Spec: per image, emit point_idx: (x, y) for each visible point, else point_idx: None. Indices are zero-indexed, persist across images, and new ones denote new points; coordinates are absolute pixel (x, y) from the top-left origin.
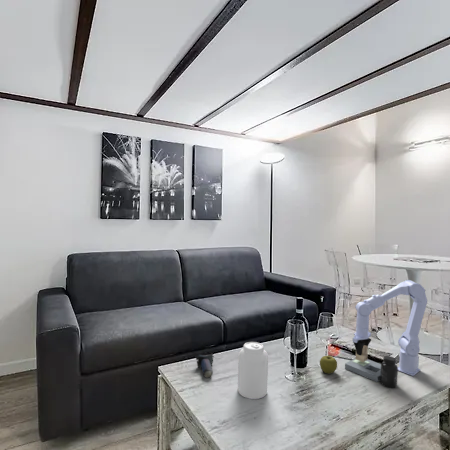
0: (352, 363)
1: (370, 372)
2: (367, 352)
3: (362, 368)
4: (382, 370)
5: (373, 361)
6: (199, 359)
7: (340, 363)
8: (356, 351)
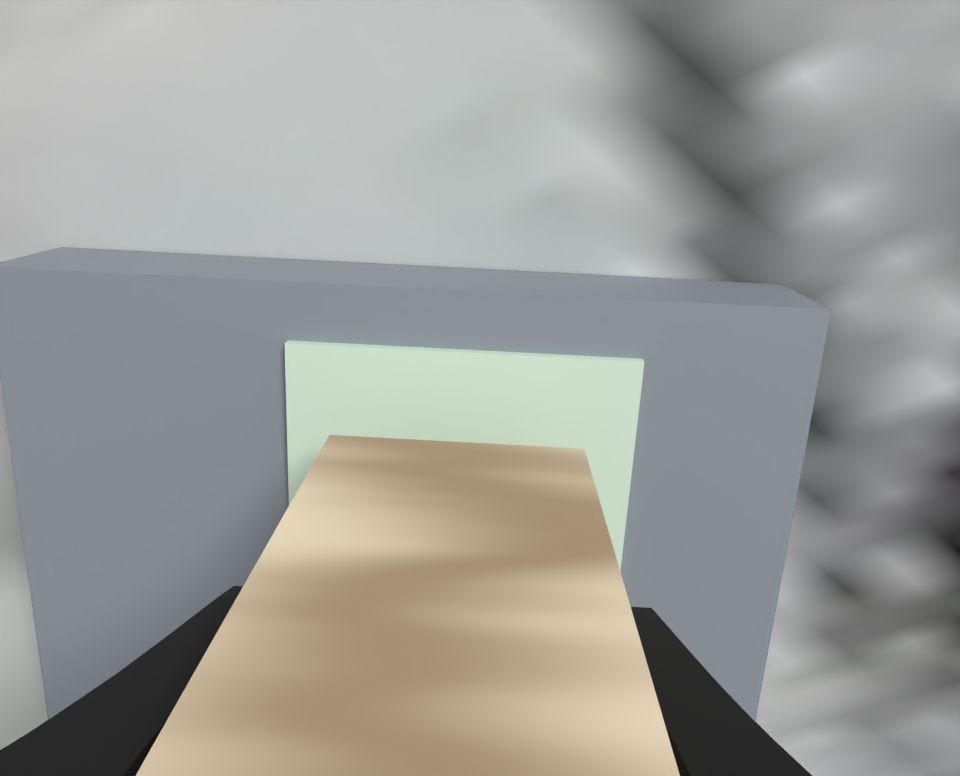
0: (181, 399)
1: None
2: None
3: None
4: None
5: (756, 687)
6: None
7: (212, 17)
8: (169, 646)
